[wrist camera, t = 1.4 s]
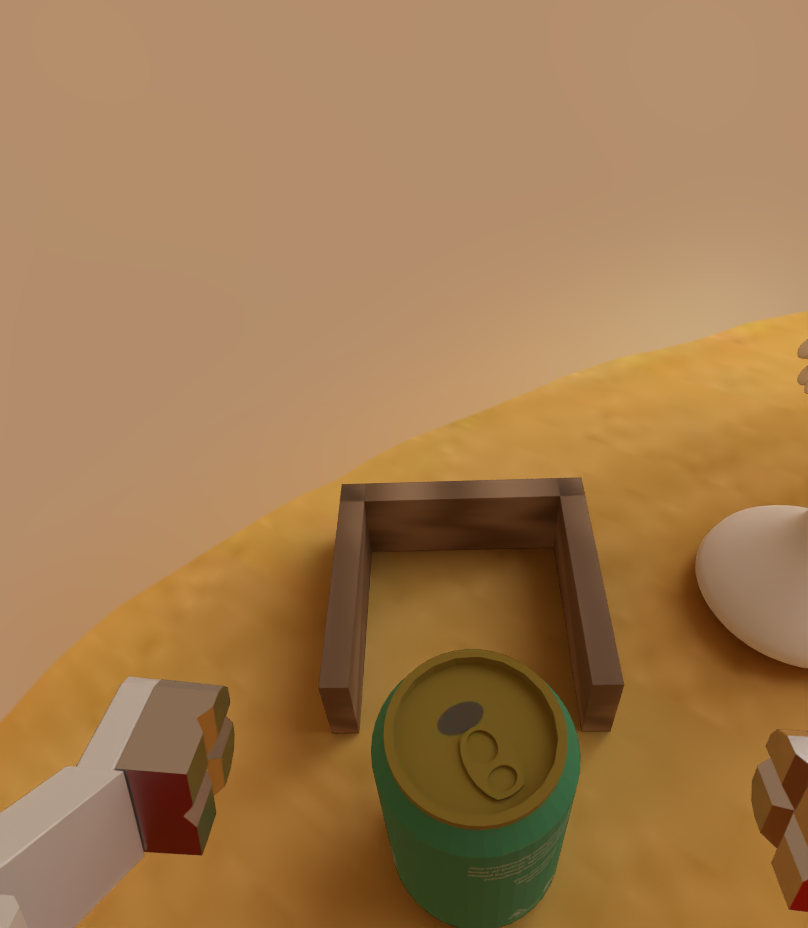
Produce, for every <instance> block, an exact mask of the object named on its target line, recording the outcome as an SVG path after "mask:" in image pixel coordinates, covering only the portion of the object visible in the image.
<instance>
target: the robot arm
mask: <svg viewBox="0 0 808 928" xmlns="http://www.w3.org/2000/svg"><path fill="white" fill-rule="evenodd" d="M229 705H230V698H229V692H228V687H225V686H219V685H210V684H200V683H191V682H182V681H172V680H163V679H161V680H160V679H149V678H139V677H128V678H127V679H126V680H125V681H124V682H123V683H122V684H121V685H120V687H119V688H118V690H117V692H116V694H115V696H114V698H113V700H112V701H111V703H110V705H109V707H108V709H107V711H106V712H105V714H104V716H103V718H102V720H101V722H100V723H99V725H98V727H97V729H96V731H95V733H94V735H93V736H92V738H91V740H90V742H89V744H88V746H87V747H86V749H85V751H84V753H83V755H82V757H81V758H80V760H79V762H78V764H77V766H76V767H74V766H66V767H64V768H63V769H62V770H60V771H59V772H57V773H56V774H54V775H53V776H52V777H50V778H49V779H47V780H46V781H45V782H43V783H42V784H40V785H39V786H38V787H36V788H35V789H33V790H32V791H31V792H29V793H28V794H26V795H25V796H24V797H22V798H21V799H19V800H18V801H17V802H15V803H14V804H12V805H11V806H10V807H8V808H7V809H5V810H4V811H3V812H1V813H0V928H75V927H76V926H77V925H78V924H79V923H80V922H81V920H82V919H83V918H84V917H85V916H86V915H87V914H88V913H89V912H90V911H91V910H92V909H93V908H94V907H95V906H96V905H97V904H98V903H99V902H100V901H101V900H102V899H103V898H104V897H105V896H106V895H107V894H108V893H109V892H110V891H111V890H112V889H113V888H114V887H115V886H116V885H117V884H118V883H119V882H120V881H121V879H122V878H123V877H124V876H125V875H126V874H127V873H128V872H129V871H130V870H131V869H132V868H133V867H134V866H135V865H136V864H137V863H138V862H139V861H140V860H141V859H142V858H143V857H144V855H145V854H144V852H154V853H170V854H186V855H203V852H204V849H205V846H206V843H207V840H208V837H209V834H210V831H211V827H212V824H213V821H214V818H215V815H216V809H215V802H214V795H215V794H216V793H218V792H219V791H220V790H221V789H222V788H223V787H225V785H226V782H227V778H228V775H229V772H230V769H231V763H232V757H233V751H234V727H233V722H232V721H231V720H230V719H229V718H228V717H227V716H226V714H227V711H228V708H229ZM766 748H767V750H768V753H769V755H770V757H771V758H769V759H768V760H766V761H765V762H763V763H761V764H760V765H758V766H757V769H756V771H755V774H754V777H753V780H752V805H753V811H754V816H755V819H756V822H757V824H758V827H759V830H760V833H761V834H762V835H763V836H764V837H765V838H766V839H767V840H768V841H770V842H771V843H772V844H773V845H774V846H775V847H776V848H777V850H776V852H775V855H774V857H773V860H772V862H771V863H772V866H773V869H774V871H775V874H776V877H777V879H778V882H779V885H780V887H781V890H782V893H783V895H784V898H785V901H786V903H787V906H788V909H789V910H796V911H804V912H808V731H799V730H785V729H777V730H776V731H774V732H773V733H772V734H771V735H770V737H769V740H768V742H767V744H766Z"/></svg>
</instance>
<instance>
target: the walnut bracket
mask: <svg viewBox="0 0 808 928" xmlns="http://www.w3.org/2000/svg"><path fill="white" fill-rule="evenodd" d="M510 548H554V552H555V559H556V565H557V572H558V578H559V585H560V591H561V598H562V604H563V611H564V617H565V624H566V630H567V637H568V643H569V650H570V656H571V663H572V669H573V676H574V682H575V689H576V695H577V702H578V708H579V715H580V721H581V728H582V731H611V727H612V724H613V721H614V717H615V714H616V710H617V707H618V704H619V700H620V697H621V693H622V690H623V687H624V682H623V677H622V672H621V667H620V663H619V658H618V653H617V648H616V643H615V638H614V633H613V628H612V624H611V619H610V614H609V609H608V604H607V599H606V594H605V590H604V585H603V580H602V575H601V570H600V565H599V560H598V556H597V551H596V546H595V541H594V536H593V531H592V526H591V521H590V517H589V512H588V507H587V502H586V497H585V492H584V487H583V483H582V478H546V479H511V480H476V481H441V482H406V483H372V484H342V488H341V497H340V505H339V514H338V523H337V531H336V540H335V549H334V558H333V566H332V575H331V584H330V592H329V601H328V610H327V618H326V627H325V636H324V645H323V653H322V662H321V671H320V679H319V691H320V695H321V698H322V701H323V705H324V708H325V711H326V715H327V718H328V721H329V725H330V728H331V731H332V733H359V730H360V715H361V701H362V686H363V672H364V657H365V643H366V628H367V614H368V599H369V585H370V570H371V556H372V552H378V551H422V550H466V549H510Z"/></svg>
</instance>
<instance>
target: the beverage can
mask: <svg viewBox="0 0 808 928" xmlns="http://www.w3.org/2000/svg"><path fill="white" fill-rule="evenodd" d="M371 756H372V768H373V772H374V777H375V781H376V785H377V790H378V794H379V798H380V802H381V807H382V811H383V815H384V820H385V824H386V828H387V833H388V837H389V841H390V846H391V850H392V854H393V858H394V863H395V866H396V869H397V871H398V874H399V876H400V879H401V881H402V882H403V884H404V886H405V887H406V889H407V891H408V892H409V894H410V895H411V896H412V897H413V898H414V900H415V901H416V902H417V903H418V904H419V905H420V906H421V907H422V908H423V909H425V910H426V911H427V912H428V913H429V914H431V915H432V916H434V917H436V918H437V919H439V920H440V921H443V922H445V923H447V924H450V925H452V926H455V927H459V928H499V927H502V926H505V925H508V924H511V923H512V922H514V921H516V920H518V919H520V918H522V917H523V916H524V915H526V914H527V913H528V912H529V911H530V910H532V909H533V908H534V907H535V906H536V905H537V903H538V902H539V901H540V900H541V899H542V898H543V896H544V894H545V893H546V891H547V889H548V888H549V886H550V884H551V882H552V879H553V877H554V874H555V871H556V867H557V863H558V859H559V855H560V851H561V847H562V843H563V839H564V835H565V831H566V827H567V824H568V820H569V816H570V812H571V808H572V804H573V800H574V796H575V792H576V788H577V783H578V778H579V774H580V748H579V740H578V736H577V733H576V729H575V725H574V723H573V721H572V719H571V716H570V714H569V712H568V710H567V708H566V707H565V705H564V704H563V702H562V701H561V699H560V698H559V696H558V695H557V694H556V693H555V692H554V691H553V689H552V688H551V687H550V686H549V685H548V684H547V683H546V682H545V681H543V680H542V679H541V677H540V676H538V675H537V674H536V673H535V672H534V671H532V670H531V669H530V668H529V667H527V666H526V665H524V664H522V663H521V662H519V661H517V660H515V659H513V658H511V657H509V656H506V655H503V654H500V653H496V652H493V651H486V650H479V649H465V650H458V651H452V652H448V653H445V654H441V655H439V656H436V657H434V658H432V659H429V660H428V661H426V662H425V663H423V664H421V665H420V666H418V667H417V668H416V669H415V670H413V671H412V672H411V673H410V674H409V675H408V676H407V677H406V678H404V679H403V680H402V681H401V682H400V683H399V684H398V685H397V686H396V687H395V689H394V690H393V691H392V692H391V693H390V695H389V696H388V698H387V699H386V701H385V703H384V704H383V706H382V708H381V710H380V713H379V715H378V717H377V720H376V723H375V727H374V731H373V735H372V746H371Z"/></svg>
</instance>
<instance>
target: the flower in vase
mask: <svg viewBox="0 0 808 928" xmlns="http://www.w3.org/2000/svg"><path fill="white" fill-rule="evenodd" d="M797 354H798V357H799V358H802V359H808V339H807V340H806V341H805V342H803V343H802V345H801V346H800V347H799V349H798V353H797ZM797 381H798V383H799V384H800V385H805V388H804V391H805V393H807V394H808V366H807V367H805V368H804V369H803V370H802V371H801V372H800V374H799V375H798V379H797ZM695 571H696V578H697V582H698V586H699V588H700V591H701V593H702V595H703V597H704V599H705V601H706V603H707V604H708V606H709V607H710V609H711V610H712V612H713V613H714V614H715V616H716V617H717V618H718V619H719V620H720V622H721V623H722V624H723V625H724V626H725V627H726V628H727V629H728V630H729V631H730V632H731V633H733V634H734V635H735V636H736V637H737V638H739V639H740V640H741V641H743V642H744V643H745V644H747V645H748V646H750V647H751V648H753V649H755V650H757V651H758V652H760V653H762V654H764V655H766V656H768V657H770V658H773V659H775V660H778V661H781V662H783V663H786V664H790V665H793V666H797V667H801V668H807V669H808V508H805V507H799V506H790V505H768V506H757V507H752V508H747V509H744V510H741V511H738V512H736V513H734V514H731V515H729V516H728V517H726V518H725V519H723V520H722V521H720V522H719V523H718V524H717V525H715V526H714V527H713V528H712V529H711V530H710V531H709V532H708V533H707V534H706V535H705V537H704V538H703V540H702V541H701V543H700V545H699V548H698V551H697V554H696V561H695Z"/></svg>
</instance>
